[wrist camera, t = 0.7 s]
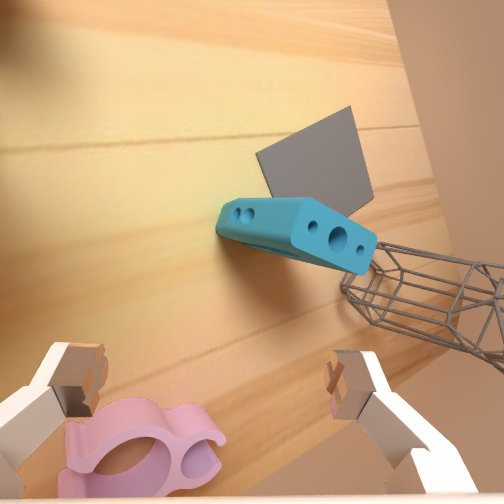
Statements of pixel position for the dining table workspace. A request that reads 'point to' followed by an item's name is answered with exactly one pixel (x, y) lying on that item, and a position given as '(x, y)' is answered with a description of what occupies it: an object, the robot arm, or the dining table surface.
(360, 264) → the block
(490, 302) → the geometric lantern
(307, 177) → the mat
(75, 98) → the dining table surface
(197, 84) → the dining table surface
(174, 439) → the clip
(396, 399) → the robot arm
